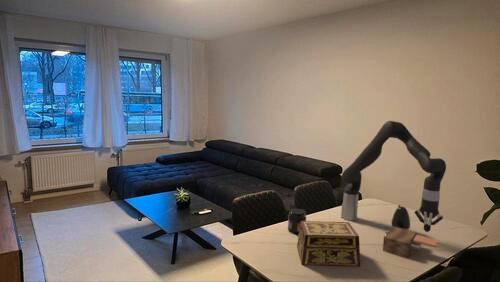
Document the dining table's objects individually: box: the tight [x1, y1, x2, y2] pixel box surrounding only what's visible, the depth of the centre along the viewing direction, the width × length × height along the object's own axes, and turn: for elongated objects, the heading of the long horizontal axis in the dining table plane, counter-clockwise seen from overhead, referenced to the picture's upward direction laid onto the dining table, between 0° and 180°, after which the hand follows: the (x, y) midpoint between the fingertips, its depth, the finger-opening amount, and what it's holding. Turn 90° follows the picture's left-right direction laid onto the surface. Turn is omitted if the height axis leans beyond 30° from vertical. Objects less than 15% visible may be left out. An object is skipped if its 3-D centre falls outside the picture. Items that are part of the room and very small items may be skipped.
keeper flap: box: [413, 234, 439, 249], centre depth 160 cm, size 1×8×10 cm
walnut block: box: [382, 226, 417, 259], centre depth 168 cm, size 12×18×8 cm
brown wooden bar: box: [383, 231, 422, 251], centre depth 167 cm, size 17×6×6 cm, turn 52°
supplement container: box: [287, 208, 307, 235], centre depth 187 cm, size 10×10×12 cm
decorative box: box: [296, 220, 361, 268], centre depth 157 cm, size 28×19×15 cm
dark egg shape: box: [390, 205, 411, 230], centre depth 189 cm, size 10×10×15 cm
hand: (426, 231), depth 160 cm, fingers closed
